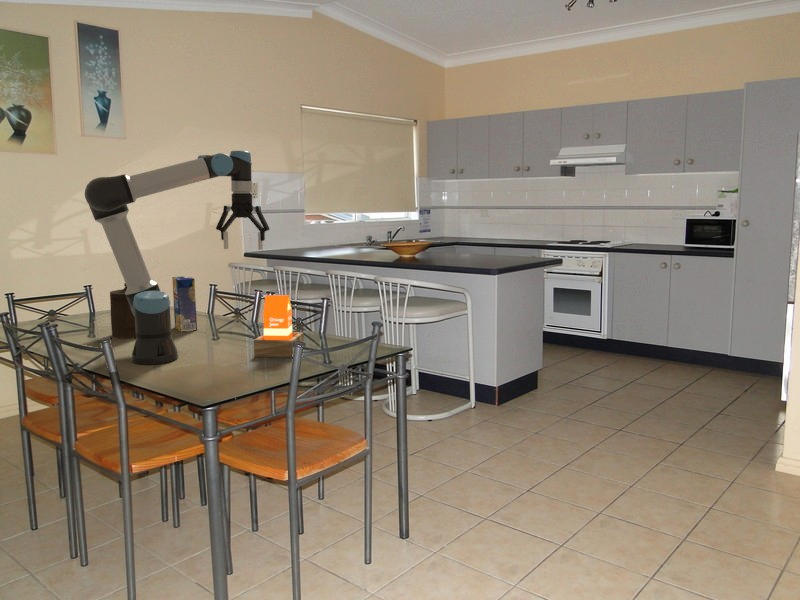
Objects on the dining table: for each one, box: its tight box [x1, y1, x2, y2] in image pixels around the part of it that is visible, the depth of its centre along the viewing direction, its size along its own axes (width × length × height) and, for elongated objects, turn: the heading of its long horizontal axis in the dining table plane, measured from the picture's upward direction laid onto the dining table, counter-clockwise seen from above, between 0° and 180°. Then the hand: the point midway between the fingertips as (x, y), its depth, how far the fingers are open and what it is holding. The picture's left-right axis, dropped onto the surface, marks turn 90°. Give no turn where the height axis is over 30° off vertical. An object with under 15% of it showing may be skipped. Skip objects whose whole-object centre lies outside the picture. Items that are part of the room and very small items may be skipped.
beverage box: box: [171, 275, 198, 333], centre depth 287 cm, size 7×11×22 cm, turn 30°
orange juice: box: [262, 294, 293, 340], centre depth 245 cm, size 8×9×20 cm
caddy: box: [253, 331, 305, 359], centre depth 246 cm, size 15×14×6 cm
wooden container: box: [109, 282, 136, 339], centre depth 275 cm, size 15×15×22 cm
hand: (243, 249), depth 257 cm, fingers open, 13 cm apart
